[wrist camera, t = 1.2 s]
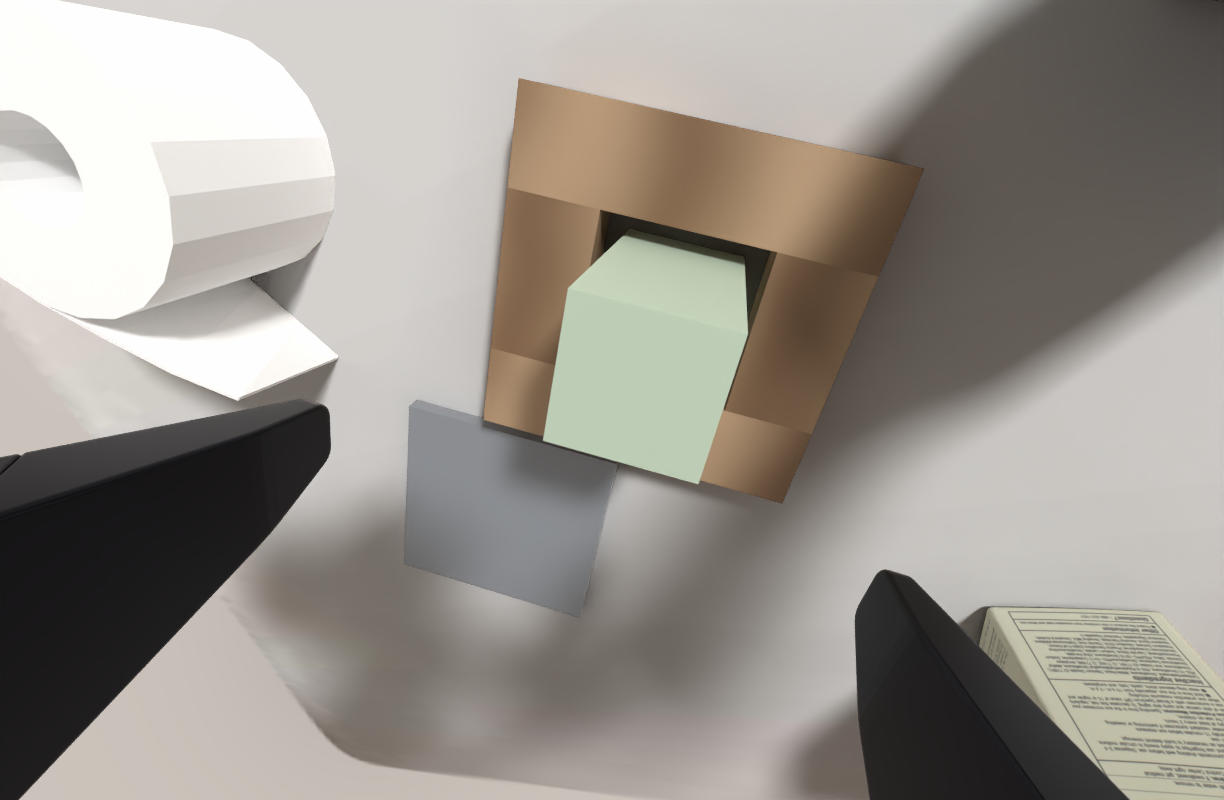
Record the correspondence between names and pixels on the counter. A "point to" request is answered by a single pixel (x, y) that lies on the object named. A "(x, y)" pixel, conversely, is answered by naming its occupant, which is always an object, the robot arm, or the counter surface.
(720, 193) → the pocket block
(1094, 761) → the skincare box
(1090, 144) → the counter surface
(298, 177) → the toilet paper
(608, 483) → the coaster
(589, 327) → the green block
